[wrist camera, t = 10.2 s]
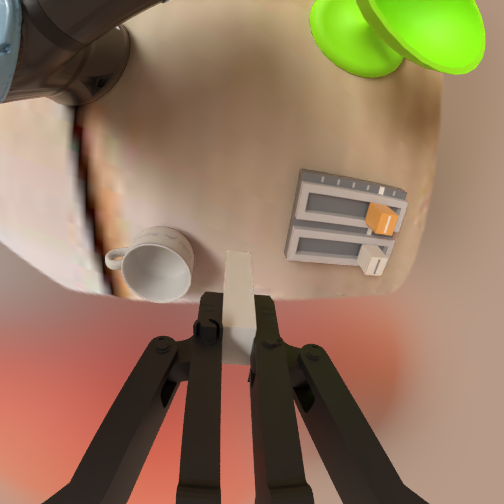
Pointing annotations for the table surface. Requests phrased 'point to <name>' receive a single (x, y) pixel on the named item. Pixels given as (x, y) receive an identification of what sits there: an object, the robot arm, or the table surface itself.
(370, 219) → the fader
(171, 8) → the table surface
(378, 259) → the fader
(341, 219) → the console
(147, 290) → the teacup
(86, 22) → the robot arm
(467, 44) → the wineglass
